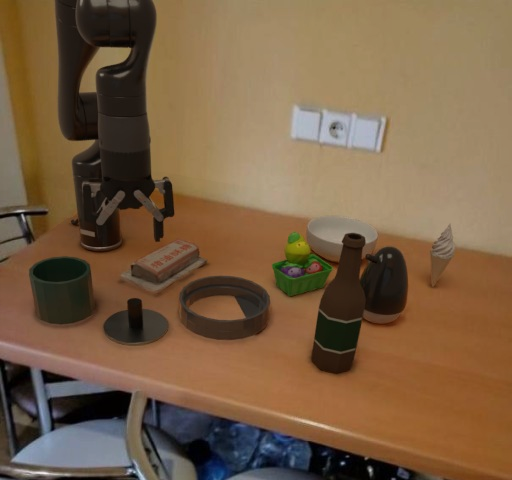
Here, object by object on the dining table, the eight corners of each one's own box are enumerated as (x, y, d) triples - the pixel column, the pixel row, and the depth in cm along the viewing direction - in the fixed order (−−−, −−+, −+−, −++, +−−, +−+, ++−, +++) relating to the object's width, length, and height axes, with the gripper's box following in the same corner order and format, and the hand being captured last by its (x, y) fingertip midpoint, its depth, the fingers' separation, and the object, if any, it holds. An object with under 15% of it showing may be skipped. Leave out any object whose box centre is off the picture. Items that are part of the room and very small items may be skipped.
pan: (172, 299, 113) (171, 279, 111) (253, 291, 118) (254, 272, 116) (189, 347, 100) (189, 326, 97) (280, 336, 105) (282, 315, 102)
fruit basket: (288, 301, 116) (293, 251, 110) (265, 282, 122) (269, 233, 116) (331, 289, 121) (339, 241, 115) (307, 271, 127) (313, 225, 121)
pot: (36, 300, 110) (29, 258, 105) (92, 295, 113) (88, 254, 108) (36, 329, 101) (28, 286, 96) (97, 323, 104) (92, 280, 99)
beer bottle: (307, 348, 102) (325, 225, 89) (349, 348, 103) (373, 226, 90) (314, 374, 96) (334, 246, 82) (358, 375, 97) (386, 247, 83)
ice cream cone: (445, 284, 127) (464, 222, 118) (442, 294, 123) (460, 230, 114) (423, 278, 128) (440, 216, 120) (419, 288, 124) (435, 224, 116)
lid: (101, 316, 106) (98, 288, 103) (162, 310, 110) (161, 283, 106) (107, 352, 97) (104, 322, 94) (173, 343, 101) (172, 315, 97)
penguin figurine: (341, 307, 115) (353, 239, 107) (384, 300, 119) (399, 233, 110) (366, 334, 107) (381, 262, 99) (412, 326, 111) (430, 256, 102)
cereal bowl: (366, 278, 127) (372, 249, 123) (295, 263, 130) (298, 235, 126) (377, 249, 140) (383, 222, 136) (313, 236, 144) (316, 209, 140)
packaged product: (171, 232, 128) (207, 244, 124) (172, 252, 131) (207, 264, 127) (117, 261, 115) (155, 275, 111) (119, 281, 118) (156, 296, 114)
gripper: (167, 135, 90) (169, 230, 99) (74, 137, 85) (85, 235, 95) (176, 149, 84) (177, 248, 93) (77, 151, 80) (88, 255, 89)
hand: (131, 242), depth 94 cm, fingers open, 8 cm apart
